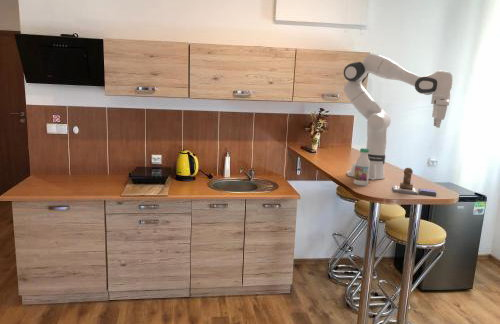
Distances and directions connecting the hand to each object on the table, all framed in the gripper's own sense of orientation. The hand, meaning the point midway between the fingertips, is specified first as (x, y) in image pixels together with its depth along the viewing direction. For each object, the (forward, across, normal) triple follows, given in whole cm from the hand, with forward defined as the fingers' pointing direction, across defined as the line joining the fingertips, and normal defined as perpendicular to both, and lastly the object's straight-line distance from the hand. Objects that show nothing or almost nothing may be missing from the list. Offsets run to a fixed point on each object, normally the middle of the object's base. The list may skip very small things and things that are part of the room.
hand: (436, 126), depth 216 cm
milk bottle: (+34, +14, -36) cm, 52 cm away
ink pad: (+34, +17, -2) cm, 38 cm away
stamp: (+33, +17, -13) cm, 39 cm away
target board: (+34, +17, -13) cm, 40 cm away
